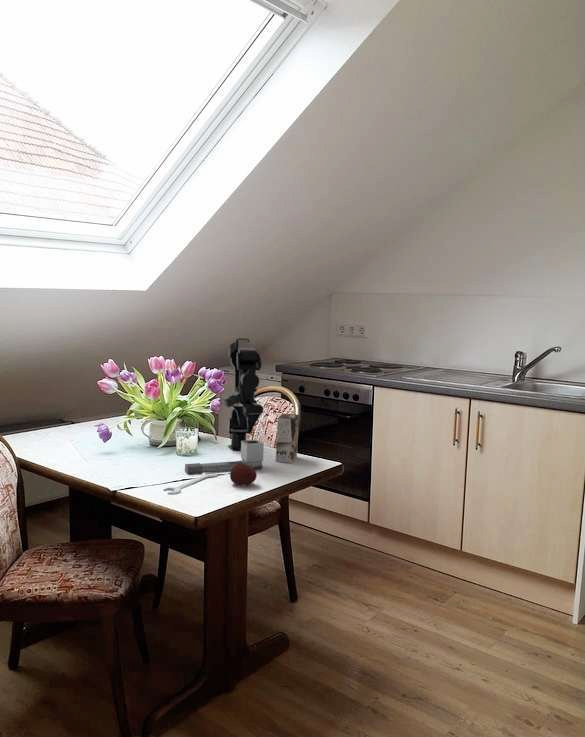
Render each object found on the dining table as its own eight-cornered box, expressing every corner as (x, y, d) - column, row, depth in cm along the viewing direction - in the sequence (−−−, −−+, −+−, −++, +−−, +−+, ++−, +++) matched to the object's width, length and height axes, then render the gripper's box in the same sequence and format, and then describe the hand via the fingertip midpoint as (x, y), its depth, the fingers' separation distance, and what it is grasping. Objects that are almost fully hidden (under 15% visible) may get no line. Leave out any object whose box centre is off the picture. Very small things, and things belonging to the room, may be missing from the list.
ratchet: (183, 469, 219) (184, 449, 218) (257, 464, 230) (258, 444, 229) (188, 475, 213) (189, 454, 212) (264, 469, 223) (265, 449, 222)
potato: (253, 489, 202) (254, 467, 201) (227, 486, 203) (227, 465, 202) (258, 482, 209) (259, 461, 208) (233, 480, 210) (233, 459, 210)
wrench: (159, 495, 196) (173, 498, 193) (159, 490, 195) (173, 493, 193) (207, 473, 218) (220, 476, 215) (207, 469, 217) (220, 471, 215)
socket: (240, 457, 226) (241, 440, 226) (256, 456, 229) (257, 439, 228) (246, 462, 221) (247, 444, 220) (263, 460, 223) (263, 443, 222)
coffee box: (292, 463, 233) (294, 419, 231) (275, 461, 234) (276, 417, 232) (297, 457, 242) (299, 414, 240) (280, 455, 243) (282, 412, 241)
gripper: (216, 381, 234) (215, 423, 236) (233, 390, 217) (231, 435, 219) (246, 380, 238) (244, 422, 241) (264, 389, 222) (262, 434, 224)
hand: (245, 428), depth 231 cm, fingers open, 9 cm apart
